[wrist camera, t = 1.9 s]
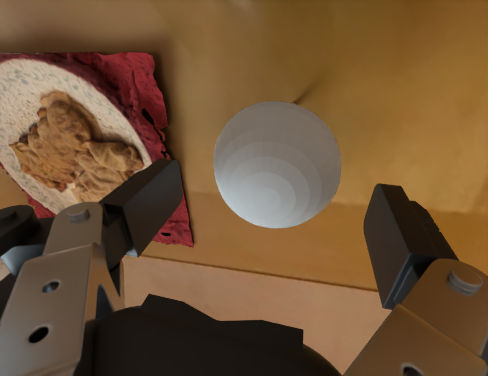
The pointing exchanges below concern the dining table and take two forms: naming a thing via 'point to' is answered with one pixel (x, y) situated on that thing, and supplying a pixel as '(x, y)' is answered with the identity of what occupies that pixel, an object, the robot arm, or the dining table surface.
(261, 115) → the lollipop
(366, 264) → the dining table surface
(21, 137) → the plate with food
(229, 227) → the dining table surface
